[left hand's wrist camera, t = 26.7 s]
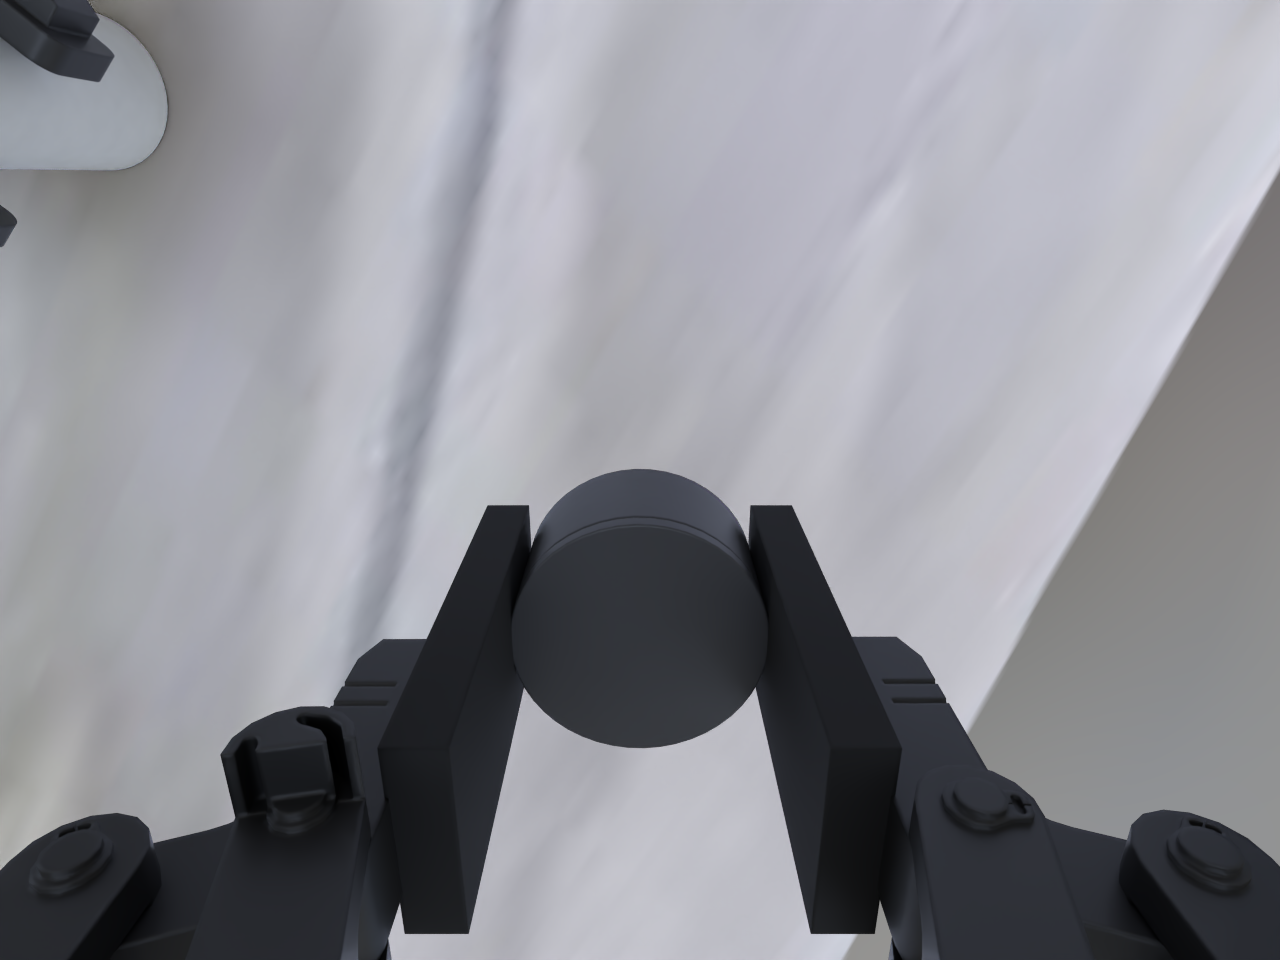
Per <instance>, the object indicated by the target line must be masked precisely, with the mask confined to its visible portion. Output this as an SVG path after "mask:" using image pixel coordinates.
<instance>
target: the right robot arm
mask: <svg viewBox="0 0 1280 960" xmlns="http://www.w3.org/2000/svg"><path fill="white" fill-rule="evenodd" d="M99 20H100V19H99V18H98V16H97V14H96V13H95V11H94V10H93V8H92V7H91V5H90V4H89V2H88V1H87V0H0V37H1V38H2V39H3V40H4V41H6V42H7V43H8V44H10V45H11V46H12V47H13V48H15V49H16V50H17V51H18V52H20V53H21V54H22V55H23V56H25V57H26V58H27V59H29V60H30V61H32V62H33V63H35V64H36V65H38V66H40V67H41V68H43V69H45V70H47V71H49V72H51V73H54V74H57V75H60V76H65V77H71V78H77V79H82V80H88V81H93V82H100V81H101V79H102V77H103V76H104V74H105V72H106V71H107V69H108V67H109V65H110V64H111V62H112V60H113V58H114V57H115V56H114V54H113V52H112V51H111V50H110V49H109V48H108V47H107V46H106V45H104V44H103V43H102V42H101V41H100V40H98V39H97V38H96V37H95V36H93V35H92V33H93V31H94V29H95V27H96V26H97V24H98V22H99ZM16 224H17V220H16V218H15V217H14V216H13V215H12V214H11V213H10V212H9V211H8V210H6V209H5V208H4V207H2V206H1V205H0V247H2V246H4V244H5V243H6V241H7V239H8V237H9V236H10V234H11V232H12V231H13V229H14V227H15V225H16Z"/></svg>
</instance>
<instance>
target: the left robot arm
mask: <svg viewBox="0 0 1280 960" xmlns="http://www.w3.org/2000/svg"><path fill="white" fill-rule="evenodd" d="M748 546H749V550H750V553H751V557H752V560H753V564H754V567H755V571H756V575H757V578H758V582H759V585H760V589H761V592H762V596H763V600H764V603H765V607H766V611H767V616H768V620H769V626H768V643H767V656H766V665H765V668H764V670H763V673H762V675H761V677H760V680H759V682H758V684H757V685H756V691H757V696H758V700H759V705H760V709H761V714H762V718H763V722H764V727H765V731H766V736H767V740H768V745H769V749H770V754H771V758H772V763H773V767H774V771H775V776H776V780H777V785H778V789H779V794H780V798H781V803H782V807H783V812H784V816H785V821H786V825H787V829H788V834H789V838H790V843H791V847H792V852H793V856H794V861H795V865H796V870H797V874H798V879H799V883H800V887H801V892H802V896H803V901H804V905H805V910H806V914H807V919H808V923H809V928H810V932H811V934H875V928H876V922H877V915H878V908H879V901H881V904H882V908H883V911H884V914H885V917H886V920H887V923H888V926H889V929H890V932H891V935H892V940H891V947H890V953H889V959H888V960H1280V866H1279V865H1278V864H1277V863H1276V862H1275V861H1274V860H1273V859H1272V858H1271V857H1270V856H1268V855H1267V854H1266V853H1265V852H1264V851H1262V850H1261V849H1260V848H1259V847H1257V846H1256V845H1255V844H1254V843H1253V842H1251V841H1250V840H1249V839H1248V838H1246V837H1244V836H1243V835H1241V834H1239V833H1237V832H1235V831H1233V830H1232V829H1230V828H1228V827H1226V826H1224V825H1222V824H1221V823H1219V822H1216V821H1213V820H1210V819H1207V818H1204V817H1201V816H1198V815H1195V814H1192V813H1188V812H1179V811H1170V810H1160V811H1155V812H1150V813H1145V814H1142V815H1141V816H1140V817H1139V818H1138V819H1137V820H1136V821H1135V822H1134V823H1133V824H1132V825H1131V828H1130V832H1129V835H1128V839H1127V840H1124V839H1120V838H1116V837H1111V836H1107V835H1103V834H1099V833H1095V832H1090V831H1086V830H1082V829H1078V828H1073V827H1070V826H1067V825H1064V824H1060V823H1057V822H1054V821H1051V820H1049V819H1047V818H1045V816H1044V814H1043V813H1042V811H1041V810H1040V808H1039V806H1038V805H1037V803H1036V801H1035V800H1034V798H1032V797H1031V796H1030V795H1029V794H1028V793H1027V792H1025V791H1024V790H1023V789H1022V788H1021V787H1020V786H1018V785H1017V784H1016V783H1015V782H1013V781H1011V780H1009V779H1007V778H1005V777H1003V776H1001V775H999V774H997V773H995V772H993V771H990V770H987V768H986V766H985V765H984V763H983V761H982V759H981V758H980V756H979V754H978V753H977V751H976V749H975V747H974V746H973V744H972V742H971V741H970V739H969V737H968V735H967V734H966V732H965V730H964V728H963V727H962V725H961V723H960V722H959V720H958V718H957V716H956V715H955V713H954V711H953V710H952V708H951V706H950V704H949V703H946V697H945V696H944V694H943V692H942V691H941V689H940V687H939V685H938V684H935V679H934V677H933V675H932V673H931V672H930V670H929V668H928V667H927V665H926V663H925V661H924V660H923V658H922V656H920V655H919V654H918V653H916V652H915V651H914V650H913V649H911V648H910V647H909V646H908V645H906V644H905V643H904V642H902V641H901V640H900V639H899V638H897V637H852V636H851V634H850V632H849V630H848V628H847V626H846V623H845V621H844V619H843V617H842V615H841V612H840V610H839V608H838V606H837V604H836V601H835V599H834V597H833V595H832V593H831V590H830V588H829V586H828V584H827V582H826V579H825V577H824V575H823V573H822V571H821V568H820V566H819V564H818V562H817V560H816V557H815V555H814V553H813V551H812V549H811V546H810V544H809V542H808V540H807V538H806V535H805V533H804V531H803V529H802V527H801V525H800V522H799V520H798V518H797V516H796V514H795V511H794V509H793V507H792V505H751V507H750V525H749V543H748ZM530 551H531V534H530V516H529V505H488V506H487V508H486V510H485V512H484V515H483V517H482V519H481V521H480V523H479V526H478V528H477V530H476V532H475V534H474V537H473V539H472V541H471V543H470V545H469V548H468V550H467V552H466V554H465V556H464V559H463V561H462V563H461V565H460V567H459V569H458V572H457V574H456V576H455V578H454V580H453V583H452V585H451V587H450V589H449V591H448V594H447V596H446V598H445V600H444V602H443V605H442V607H441V609H440V611H439V613H438V616H437V618H436V620H435V622H434V624H433V627H432V629H431V631H430V633H429V635H428V638H427V639H383V640H382V641H380V642H379V643H378V644H377V645H375V646H374V647H373V648H372V649H370V650H369V651H368V652H366V653H365V654H364V655H363V656H361V657H360V658H359V659H358V660H357V662H356V664H355V665H354V667H353V669H352V671H351V672H350V674H349V676H348V677H347V679H346V681H345V686H344V687H342V688H341V690H340V691H339V693H338V695H337V696H336V698H335V700H334V705H333V706H331V707H330V708H328V707H324V706H311V707H297V708H292V709H288V710H284V711H279V712H275V713H273V714H271V715H269V716H267V717H264V718H262V719H260V720H258V721H255V722H253V723H251V724H250V725H249V726H247V727H246V728H245V729H243V730H242V731H241V732H239V733H238V734H237V735H235V736H234V737H233V738H232V739H231V740H230V742H229V743H228V745H227V746H226V747H225V749H224V750H223V752H222V753H221V759H222V763H223V768H224V772H225V776H226V780H227V784H228V788H229V793H230V797H231V801H232V805H233V809H234V814H235V820H234V822H231V823H229V824H226V825H223V826H220V827H217V828H214V829H210V830H207V831H203V832H199V833H194V834H190V835H186V836H182V837H178V838H173V839H169V840H165V841H161V842H157V843H153V841H152V838H151V834H150V831H149V828H148V827H147V826H146V825H145V824H144V823H143V822H142V821H141V820H140V819H139V818H138V817H134V816H129V815H124V814H119V813H113V814H104V815H95V816H89V817H86V818H83V819H80V820H77V821H74V822H72V823H69V824H66V825H63V826H60V827H59V828H57V829H55V830H53V831H51V832H50V833H48V834H46V835H44V836H42V837H40V838H39V839H37V840H35V841H33V842H32V843H31V844H30V845H28V846H27V847H26V848H25V849H23V850H22V851H21V852H20V853H19V854H17V855H16V856H15V857H14V858H13V859H11V860H10V861H9V862H8V863H7V864H6V865H5V866H4V867H3V868H2V869H1V870H0V960H391V953H390V946H389V940H388V937H389V934H390V931H391V928H392V925H393V922H394V919H395V916H396V913H397V910H398V907H399V904H400V905H401V912H402V918H403V925H404V932H405V934H469V930H470V925H471V921H472V916H473V912H474V908H475V903H476V899H477V894H478V890H479V885H480V881H481V876H482V872H483V867H484V863H485V859H486V854H487V850H488V845H489V841H490V836H491V832H492V827H493V823H494V818H495V814H496V809H497V805H498V801H499V796H500V792H501V787H502V783H503V778H504V774H505V769H506V765H507V760H508V756H509V752H510V747H511V743H512V738H513V734H514V729H515V725H516V720H517V716H518V711H519V707H520V702H521V698H522V694H523V689H524V686H523V684H522V682H521V680H520V678H519V676H518V674H517V671H516V668H515V666H514V660H513V646H512V631H511V616H512V612H513V608H514V605H515V601H516V598H517V595H518V591H519V588H520V585H521V581H522V578H523V575H524V571H525V568H526V565H527V561H528V558H529V555H530Z"/></svg>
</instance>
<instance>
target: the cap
mask: <svg viewBox="0 0 1280 960" xmlns="http://www.w3.org/2000/svg"><path fill="white" fill-rule="evenodd" d="M768 626H769V620H768V616H767V611H766V607H765V603H764V600H763V596H762V592H761V589H760V585H759V582H758V578H757V575H756V571H755V567H754V564H753V560H752V557H751V553H750V550H749V546H748V543H747V540H746V537H745V535H744V532H743V530H742V528H741V526H740V524H739V522H738V521H737V519H736V517H735V516H734V515H733V513H732V512H731V511H730V509H729V508H728V507H727V506H726V505H725V504H724V503H723V502H722V501H721V500H720V499H719V498H718V497H717V496H715V495H714V494H713V493H712V492H710V491H709V490H708V489H706V488H704V487H703V486H701V485H699V484H698V483H696V482H694V481H692V480H689V479H687V478H685V477H682V476H679V475H676V474H672V473H669V472H664V471H658V470H651V469H631V470H621V471H616V472H612V473H607V474H604V475H601V476H598V477H596V478H593V479H591V480H589V481H587V482H585V483H583V484H581V485H579V486H577V487H576V488H574V489H573V490H571V491H570V492H569V493H567V494H566V495H565V496H564V497H563V498H561V499H560V500H559V501H558V502H557V503H556V504H555V505H554V506H553V508H552V509H551V510H550V511H549V512H548V514H547V515H546V517H545V518H544V520H543V521H542V523H541V525H540V527H539V529H538V531H537V533H536V536H535V538H534V541H533V545H532V548H531V551H530V555H529V558H528V561H527V565H526V568H525V571H524V575H523V578H522V581H521V585H520V588H519V591H518V595H517V598H516V601H515V605H514V608H513V612H512V616H511V631H512V646H513V660H514V666H515V668H516V671H517V674H518V676H519V678H520V680H521V682H522V684H523V686H524V688H525V689H526V691H527V692H528V693H529V695H530V696H531V698H532V699H533V700H534V702H535V703H536V704H537V705H538V706H539V707H540V708H541V709H542V710H543V711H544V712H545V713H546V714H547V715H549V716H550V717H551V718H552V719H553V720H555V721H556V722H557V723H559V724H560V725H562V726H564V727H565V728H567V729H568V730H570V731H572V732H574V733H576V734H578V735H580V736H582V737H585V738H588V739H591V740H593V741H596V742H600V743H604V744H608V745H612V746H619V747H627V748H651V747H662V746H667V745H672V744H677V743H680V742H683V741H687V740H690V739H693V738H695V737H697V736H700V735H702V734H704V733H706V732H708V731H710V730H711V729H713V728H715V727H717V726H718V725H720V724H721V723H723V722H724V721H725V720H727V719H728V718H729V717H731V716H732V715H733V714H734V713H735V712H736V711H737V710H738V709H739V708H740V707H741V706H742V705H743V704H744V702H745V701H746V700H747V699H748V697H749V696H750V695H751V694H752V692H753V690H754V689H755V687H756V685H757V684H758V682H759V680H760V677H761V675H762V673H763V670H764V668H765V665H766V656H767V643H768Z"/></svg>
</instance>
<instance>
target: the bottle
mask: <svg viewBox="0 0 1280 960" xmlns="http://www.w3.org/2000/svg"><path fill="white" fill-rule="evenodd" d="M96 14H97V16H98V18H99V19H100V20H99V22H98V24H97V26H96V27H95V29H94V31H93V33H92V35H93V36H95V37H96V38H97V39H98V40H100V41H101V42H102V43H103V44H104V45H106V46H107V47H108V48H109V49H110V50H111V51H112V52H113V54H114V56H115V57H114V58H113V60H112V62H111V64H110V65H109V67H108V69H107V71H106V72H105V74H104V76H103V77H102V79H101V81H100V82H93V81H88V80H82V79H77V78H71V77H65V76H60V75H57V74H54V73H51V72H49V71H47V70H45V69H43V68H41V67H40V66H38V65H36V64H35V63H33V62H32V61H30V60H29V59H27V58H26V57H25V56H23V55H22V54H21V53H20V52H18V51H17V50H16V49H15V48H13V47H12V46H11V45H10V44H8V43H7V42H6V41H4V40H3V39H2V38H1V37H0V169H37V170H121V169H126V168H129V167H132V166H135V165H136V164H138V163H140V162H142V161H143V160H145V159H146V158H147V157H148V156H149V155H150V154H151V153H152V152H153V151H154V150H155V148H156V147H157V146H158V144H159V143H160V140H161V138H162V136H163V134H164V131H165V127H166V122H167V114H168V104H167V95H166V91H165V86H164V83H163V80H162V77H161V74H160V72H159V70H158V68H157V66H156V64H155V62H154V60H153V59H152V57H151V55H150V54H149V53H148V51H147V50H146V49H145V47H144V46H143V45H142V44H141V43H140V41H139V40H138V39H137V38H136V37H135V36H134V35H133V34H131V33H130V32H129V31H128V30H127V29H126V28H124V27H123V26H121V25H120V24H118V23H117V22H115V21H113V20H111V19H110V18H108V17H105V16H103V15H100V14H98V13H96Z"/></svg>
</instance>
